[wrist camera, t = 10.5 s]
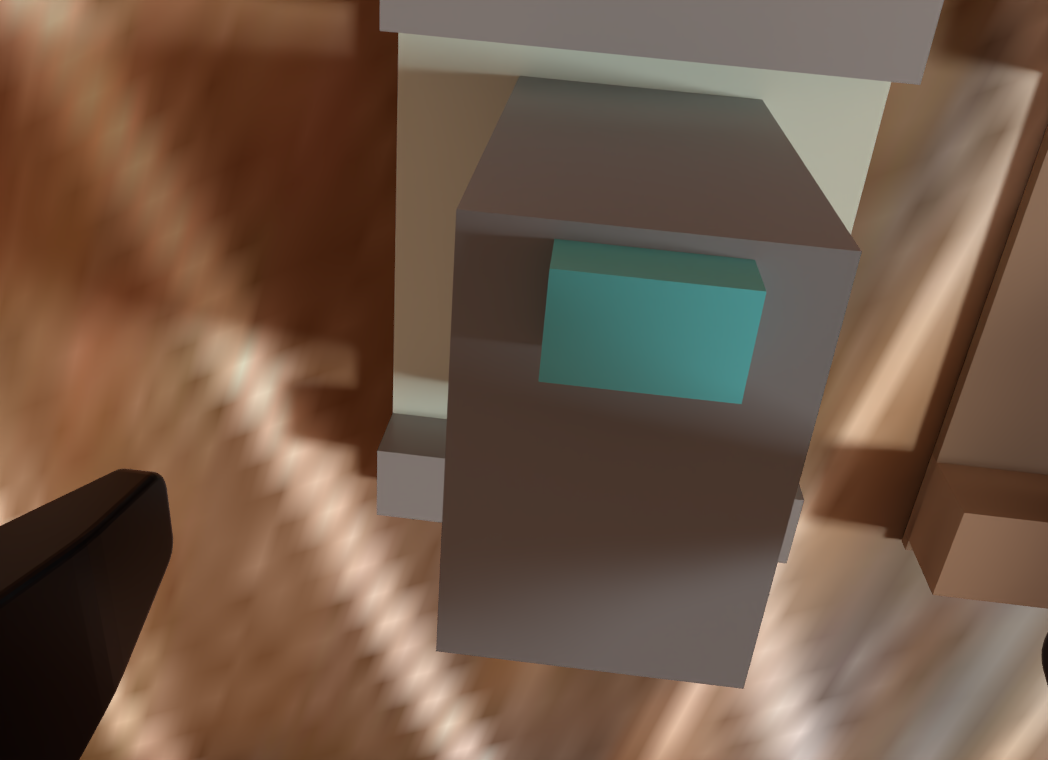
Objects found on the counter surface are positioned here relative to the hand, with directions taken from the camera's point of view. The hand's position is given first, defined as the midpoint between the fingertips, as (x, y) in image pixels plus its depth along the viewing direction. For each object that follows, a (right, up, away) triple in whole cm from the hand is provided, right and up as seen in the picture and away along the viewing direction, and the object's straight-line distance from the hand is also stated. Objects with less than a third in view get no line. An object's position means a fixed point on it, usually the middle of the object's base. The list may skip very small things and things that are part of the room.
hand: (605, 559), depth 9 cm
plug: (+1, +4, +7) cm, 9 cm away
